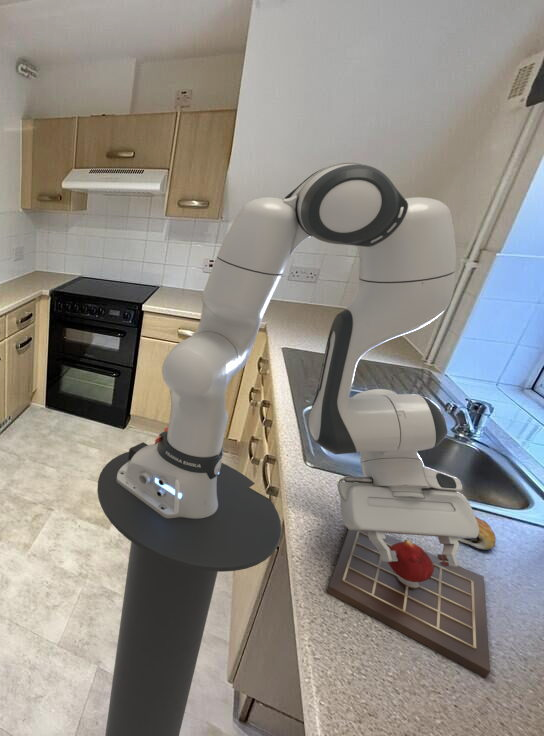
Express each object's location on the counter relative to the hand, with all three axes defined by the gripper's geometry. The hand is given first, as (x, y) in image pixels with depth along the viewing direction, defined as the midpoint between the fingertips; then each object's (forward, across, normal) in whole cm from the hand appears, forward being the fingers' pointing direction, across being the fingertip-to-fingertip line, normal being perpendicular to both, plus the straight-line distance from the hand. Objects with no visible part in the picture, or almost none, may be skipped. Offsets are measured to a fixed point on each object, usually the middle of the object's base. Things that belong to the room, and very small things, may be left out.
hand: (419, 564), depth 69 cm
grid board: (+4, 0, +5) cm, 6 cm away
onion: (+2, 0, +3) cm, 4 cm away
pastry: (-6, +22, +15) cm, 27 cm away
